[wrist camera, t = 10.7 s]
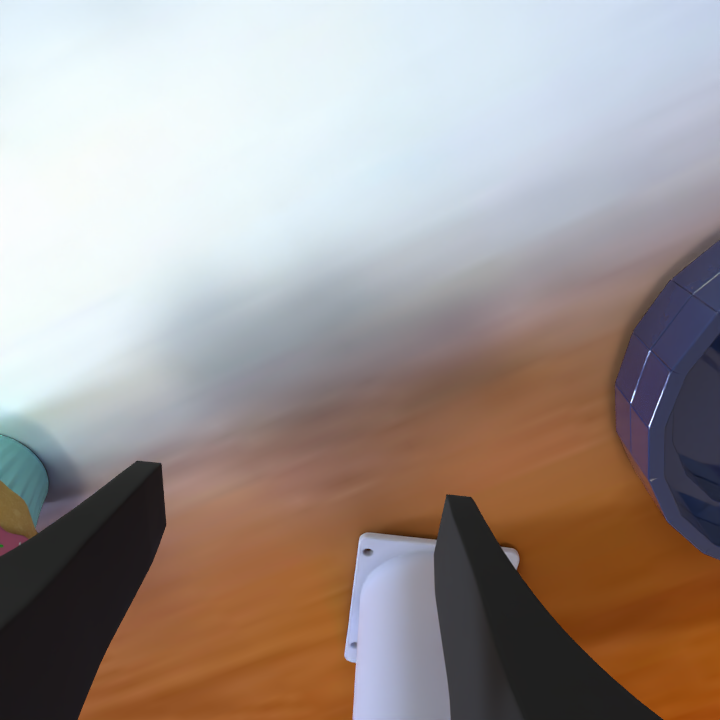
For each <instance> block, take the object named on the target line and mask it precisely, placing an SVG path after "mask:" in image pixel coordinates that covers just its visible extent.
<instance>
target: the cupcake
mask: <svg viewBox="0 0 720 720" xmlns="http://www.w3.org/2000/svg"><path fill="white" fill-rule="evenodd" d="M48 487H49V481H48V476H47V473H46V470H45V468H44V466H43V464H42V463H41V461H40V460H39V459H38V458H37V456H36V455H35V454H34V453H33V452H32V451H30V450H29V449H28V448H27V447H25V446H24V445H22V444H21V443H19V442H17V441H16V440H13V439H11V438H9V437H6V436H3V435H0V556H2V555H4V554H5V553H7V552H9V551H11V550H12V549H14V548H16V547H17V546H19V545H21V544H22V543H24V542H25V541H27V540H29V539H30V538H32V537H33V536H35V535H36V534H38V533H37V531H36V530H35V529H36V525H37V521H38V518H39V514H40V511H41V508H42V505H43V503H44V500H45V498H46V495H47V492H48Z"/></svg>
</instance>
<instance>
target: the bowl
mask: <svg viewBox="0 0 720 720" xmlns="http://www.w3.org/2000/svg"><path fill="white" fill-rule="evenodd" d="M615 406H616V430H617V431H616V432H617V434H618V436H619V438H620V440H621V443H622V445H623V447H624V449H625V451H626V453H627V456H628V458H629V460H630V462H631V464H632V466H633V469H634V470H635V472H636V473H637V475H638V477H639V478H640V480H641V481H642V483H643V485H644V486H645V488H646V489H647V491H648V492H649V494H650V496H651V497H652V499H653V500H654V502H655V504H656V505H657V507H658V508H659V510H660V511H661V513H662V515H663V516H664V518H665V519H666V521H667V522H668V523H669V524H670V525H671V526H672V527H673V528H674V529H676V530H677V531H678V532H679V533H680V534H681V535H682V536H683V537H685V538H686V539H687V540H688V541H689V542H690V543H691V544H693V545H694V546H695V547H696V548H697V549H698V550H699V551H700V552H702V553H704V554H706V555H708V556H711V557H713V558H716V559H718V560H720V240H719V241H717V242H716V243H715V244H714V245H713V246H711V247H710V248H709V249H708V250H706V251H705V252H704V253H703V254H702V255H700V256H699V257H698V258H697V259H695V260H694V261H693V262H692V263H691V264H689V265H688V266H687V267H686V268H685V269H683V270H682V271H681V272H680V273H678V274H677V275H676V276H675V277H674V278H673V279H672V280H670V281H669V282H668V284H667V285H666V286H665V288H664V289H663V290H662V292H661V293H660V295H659V296H658V297H657V299H656V300H655V302H654V303H653V304H652V306H651V307H650V308H649V310H648V311H647V313H646V314H645V315H644V317H643V318H642V319H641V321H640V322H639V324H638V325H637V326H636V328H635V329H634V330H633V333H632V336H631V339H630V342H629V344H628V347H627V350H626V353H625V356H624V359H623V362H622V365H621V368H620V371H619V374H618V376H617V379H616V384H615Z"/></svg>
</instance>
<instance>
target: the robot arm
mask: <svg viewBox="0 0 720 720" xmlns="http://www.w3.org/2000/svg"><path fill="white" fill-rule="evenodd" d="M165 527H166V516H165V503H164V491H163V478H162V465H161V463H154V462H144V461H136V462H135V463H134V464H132V465H131V466H130V467H128V468H127V469H126V470H124V471H123V472H122V473H120V474H119V475H118V476H116V477H115V478H114V479H113V480H111V481H110V482H109V483H107V484H106V485H105V486H103V487H102V488H101V489H100V490H98V491H97V492H96V493H94V494H93V495H92V496H90V497H89V498H88V499H86V500H85V501H84V502H82V503H81V504H80V505H78V506H77V507H76V508H74V509H73V510H71V511H70V512H69V513H67V514H66V515H64V516H63V517H61V518H60V519H59V520H57V521H56V522H54V523H53V524H51V525H50V526H48V527H47V528H45V529H44V530H42V531H41V532H39V533H38V534H36V535H35V536H33V537H32V538H30V539H29V540H27V541H25V542H24V543H22V544H21V545H19V546H17V547H16V548H14V549H12V550H11V551H9V552H7V553H5V554H4V555H2V556H0V720H78V717H79V715H80V712H81V709H82V707H83V704H84V702H85V699H86V697H87V694H88V692H89V690H90V687H91V685H92V682H93V680H94V677H95V675H96V673H97V670H98V668H99V665H100V663H101V661H102V659H103V657H104V655H105V653H106V650H107V648H108V646H109V644H110V642H111V640H112V638H113V637H114V635H115V633H116V631H117V629H118V627H119V625H120V623H121V621H122V620H123V618H124V616H125V614H126V612H127V610H128V608H129V606H130V604H131V603H132V601H133V599H134V597H135V595H136V593H137V591H138V589H139V587H140V585H141V584H142V582H143V580H144V578H145V576H146V574H147V572H148V570H149V568H150V566H151V564H152V562H153V559H154V557H155V554H156V552H157V549H158V547H159V544H160V541H161V538H162V535H163V533H164V530H165ZM365 549H371V550H365ZM519 561H520V558H519V554H518V552H517V550H515V549H513V548H508V547H501V546H500V545H499V543H498V542H497V540H496V538H495V537H494V535H493V533H492V532H491V530H490V528H489V527H488V525H487V523H486V522H485V520H484V518H483V516H482V515H481V513H480V511H479V509H478V507H477V506H476V504H475V502H474V500H473V499H472V498H471V497H466V496H456V495H446V500H445V504H444V509H443V514H442V518H441V523H440V528H439V532H438V537H437V540H435V539H426V538H417V537H407V536H398V535H389V534H380V533H371V532H369V533H364V534H362V535H361V536H360V538H359V545H358V553H357V561H356V569H355V577H354V584H353V592H352V600H351V608H350V616H349V624H348V632H347V640H346V647H345V658H346V659H347V660H348V661H350V662H355V663H356V674H355V690H354V707H353V720H663V719H662V718H661V717H659V716H658V715H657V714H655V713H654V712H653V711H651V710H650V709H649V708H648V707H646V706H645V705H644V704H642V703H641V702H640V701H639V700H637V699H636V698H635V697H634V696H633V695H632V694H630V693H629V692H628V691H627V690H626V689H625V688H624V687H622V686H621V685H620V684H619V683H618V682H617V681H615V680H614V679H613V678H612V677H611V676H610V675H609V674H608V673H607V672H605V671H604V670H603V669H602V668H601V667H600V666H599V665H598V664H597V663H596V662H595V661H594V660H593V659H592V658H591V657H590V656H589V655H588V654H587V653H586V652H585V651H584V650H583V649H582V648H581V647H580V646H579V645H578V644H577V643H576V642H575V641H574V640H573V639H572V638H571V637H570V636H569V635H568V634H567V633H566V632H565V631H564V630H563V629H562V628H561V626H560V625H559V624H558V623H557V622H556V621H555V619H554V618H553V617H552V616H551V615H550V614H549V612H548V611H547V610H546V609H545V608H544V606H543V605H542V604H541V603H540V601H539V600H538V599H537V598H536V596H535V595H534V594H533V592H532V591H531V590H530V588H529V587H528V586H527V584H526V583H525V582H524V580H523V579H522V578H521V576H520V575H519V573H518V572H517V567H518V564H519Z"/></svg>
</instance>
